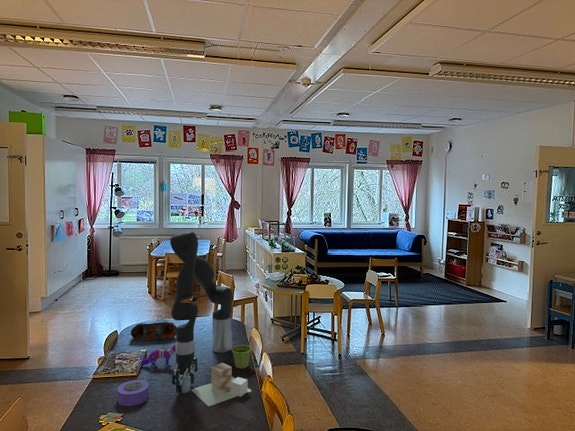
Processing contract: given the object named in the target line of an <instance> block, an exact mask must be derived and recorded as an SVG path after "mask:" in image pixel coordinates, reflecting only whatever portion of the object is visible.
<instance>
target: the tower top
mask: <svg viewBox="0 0 575 431" xmlns="http://www.w3.org/2000/svg"><path fill="white" fill-rule="evenodd" d="M232 369H233V368H232V366H231V365H228V364H226V363H224V362H220V363H218V364H216V365H213V366H211V367H210V378H211V381H212V380H214V381H216V382H218V383H220V384H221V383H223V382H225V381H227V380H230V379H232V375H233V374H232V373H233V371H232Z"/></svg>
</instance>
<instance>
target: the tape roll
mask: <svg viewBox="0 0 575 431" xmlns="http://www.w3.org/2000/svg"><path fill="white" fill-rule="evenodd" d="M149 388H150V387H149V382H147V381H146V380H143V379H134V380H133V379H132V380H128V381H126V382H122V384H120V385H119V386H118V387H117V388H116V389H117V403H118V404H119V405H120V406H123V407H132V406H133V407H134V406H138V405H140V404H143V403H145V402H146V401H148V400H149V396H150V394H149V393H150V392H149Z"/></svg>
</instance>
